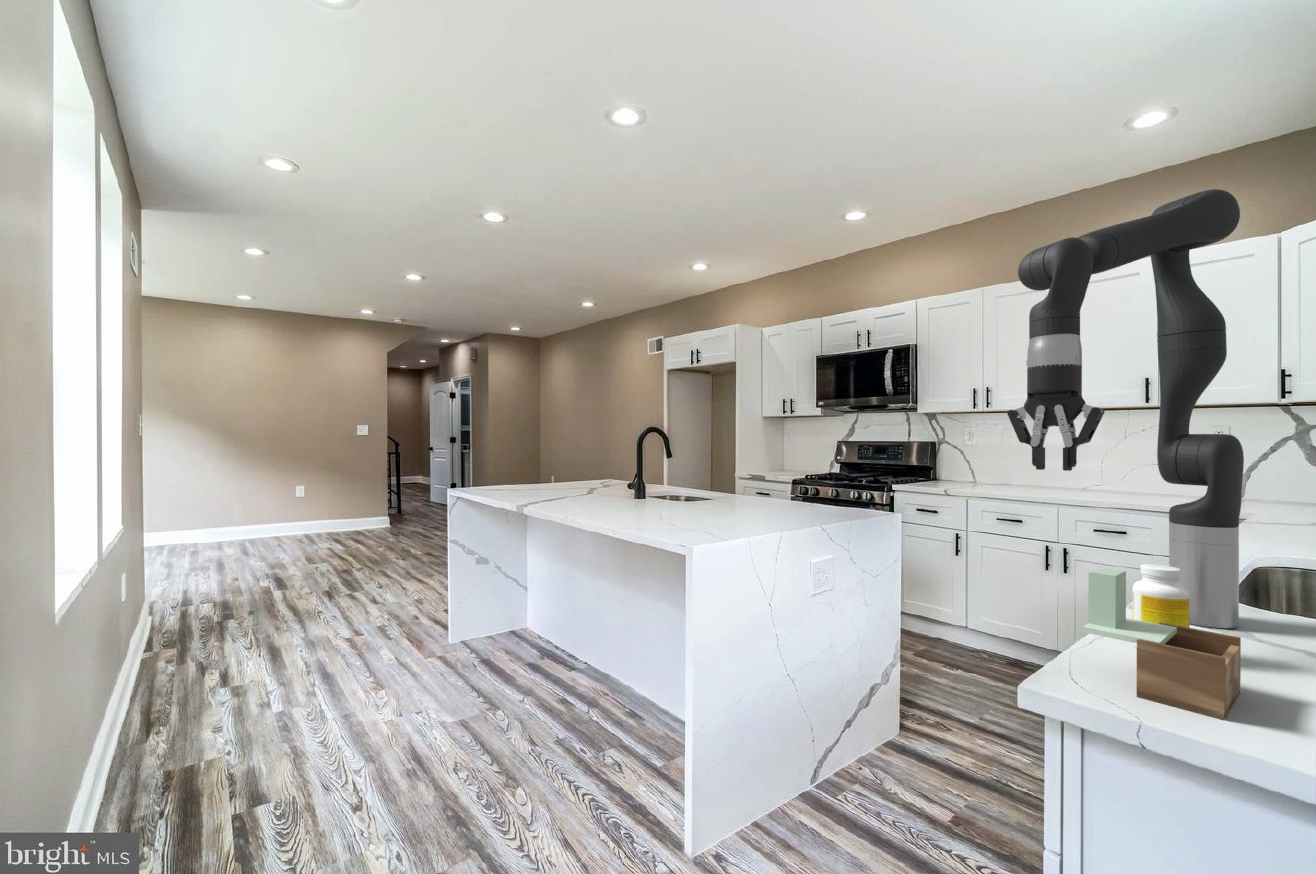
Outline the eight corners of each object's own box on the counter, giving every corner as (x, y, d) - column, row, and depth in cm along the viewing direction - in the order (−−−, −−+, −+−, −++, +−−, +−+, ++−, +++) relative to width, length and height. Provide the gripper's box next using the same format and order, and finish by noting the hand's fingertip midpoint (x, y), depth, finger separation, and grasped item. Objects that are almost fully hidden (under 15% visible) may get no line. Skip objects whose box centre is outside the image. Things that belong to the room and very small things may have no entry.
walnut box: (1159, 673, 82) (1159, 622, 82) (1240, 692, 76) (1240, 637, 76) (1136, 696, 75) (1136, 640, 75) (1224, 720, 69) (1224, 658, 69)
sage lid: (1104, 618, 86) (1104, 565, 86) (1176, 632, 80) (1177, 575, 80) (1082, 632, 80) (1083, 574, 80) (1159, 648, 74) (1159, 585, 74)
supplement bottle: (1200, 661, 87) (1201, 572, 87) (1148, 658, 88) (1148, 570, 88) (1171, 646, 94) (1171, 563, 94) (1123, 643, 95) (1123, 561, 95)
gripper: (1113, 363, 96) (1112, 471, 95) (1016, 370, 106) (1015, 467, 106) (1098, 358, 91) (1098, 472, 91) (998, 367, 102) (998, 468, 102)
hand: (1053, 469), depth 99 cm, fingers open, 3 cm apart
